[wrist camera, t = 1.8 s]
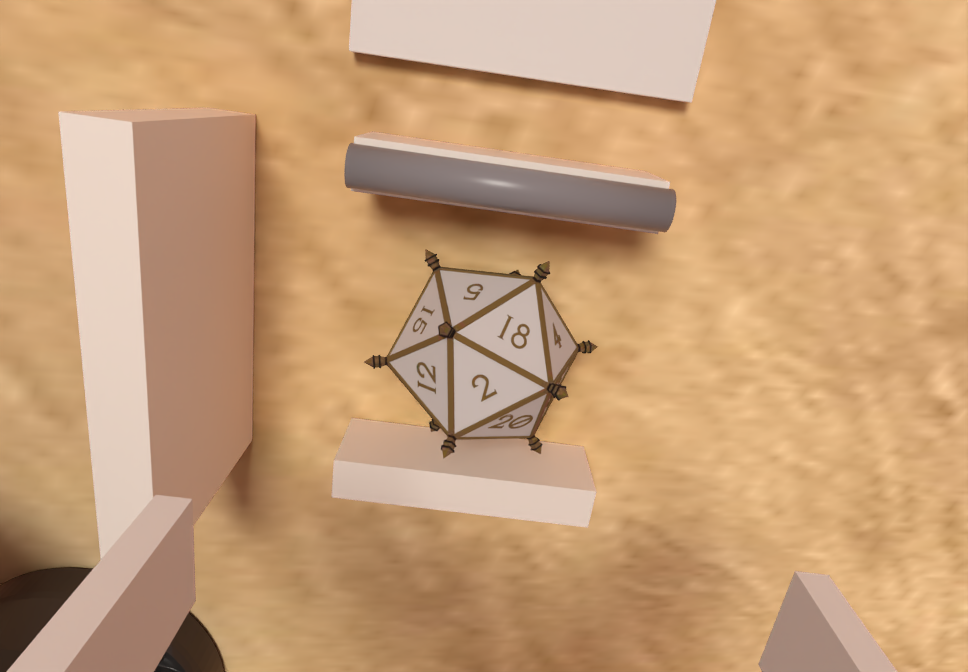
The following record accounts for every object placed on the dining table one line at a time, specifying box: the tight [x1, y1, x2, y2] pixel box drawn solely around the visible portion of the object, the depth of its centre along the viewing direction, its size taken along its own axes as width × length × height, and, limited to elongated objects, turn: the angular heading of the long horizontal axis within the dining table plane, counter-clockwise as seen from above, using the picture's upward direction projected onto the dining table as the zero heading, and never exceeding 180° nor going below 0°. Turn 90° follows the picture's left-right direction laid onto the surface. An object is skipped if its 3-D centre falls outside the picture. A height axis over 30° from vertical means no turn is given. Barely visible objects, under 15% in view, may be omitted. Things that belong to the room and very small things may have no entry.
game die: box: [364, 250, 597, 459], centre depth 26 cm, size 9×8×10 cm
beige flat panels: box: [59, 108, 676, 559], centre depth 25 cm, size 16×19×10 cm
